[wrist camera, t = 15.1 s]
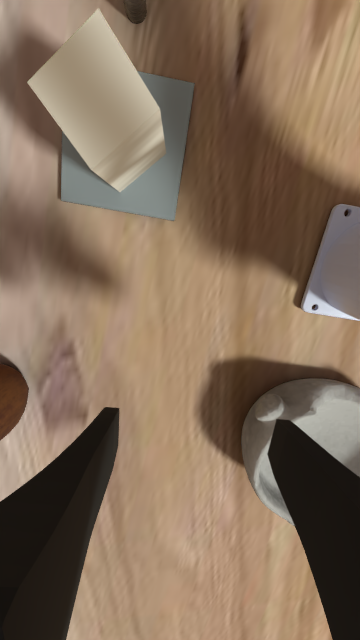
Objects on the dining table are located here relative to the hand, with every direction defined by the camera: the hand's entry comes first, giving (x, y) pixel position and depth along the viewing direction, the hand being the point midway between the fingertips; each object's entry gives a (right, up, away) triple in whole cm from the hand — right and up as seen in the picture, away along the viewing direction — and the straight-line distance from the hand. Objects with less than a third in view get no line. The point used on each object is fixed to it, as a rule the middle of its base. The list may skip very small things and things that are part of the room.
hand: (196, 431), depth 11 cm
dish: (+12, -6, +13) cm, 19 cm away
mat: (-4, +17, +5) cm, 18 cm away
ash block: (-4, +17, +5) cm, 18 cm away
